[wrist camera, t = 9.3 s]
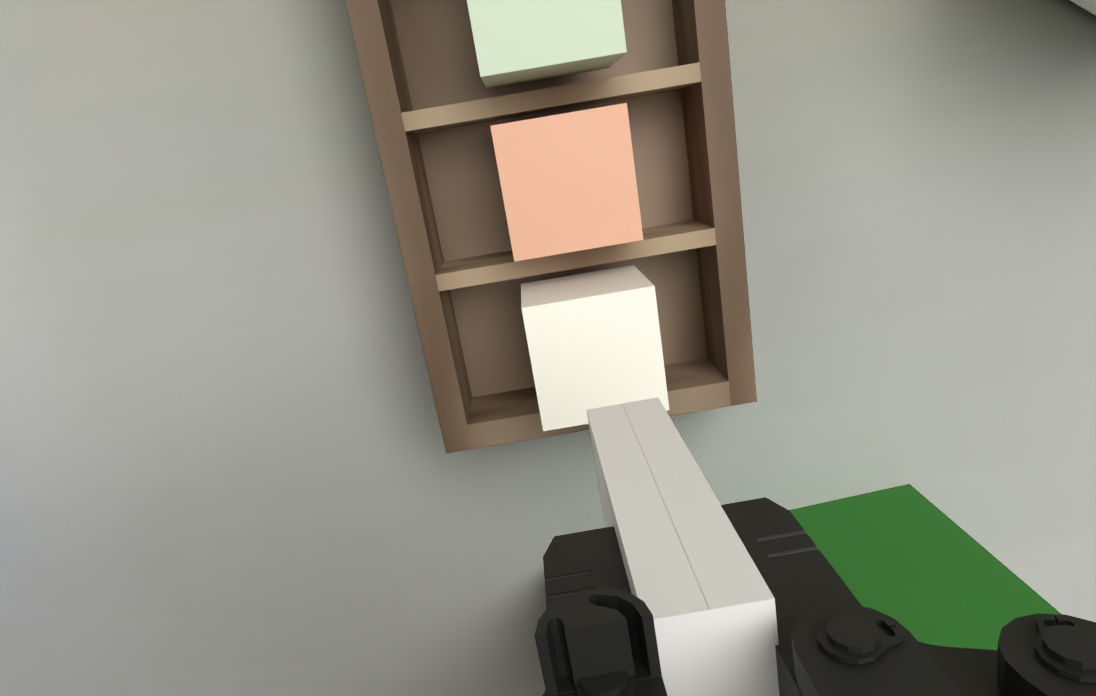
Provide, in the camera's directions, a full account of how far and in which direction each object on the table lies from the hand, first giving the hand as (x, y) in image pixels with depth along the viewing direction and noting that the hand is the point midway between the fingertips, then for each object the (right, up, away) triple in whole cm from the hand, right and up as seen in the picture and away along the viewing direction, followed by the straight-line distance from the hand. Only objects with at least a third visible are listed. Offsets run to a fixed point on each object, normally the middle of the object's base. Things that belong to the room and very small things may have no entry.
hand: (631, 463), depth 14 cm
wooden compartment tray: (-2, +12, +13) cm, 18 cm away
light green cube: (-2, +14, +8) cm, 16 cm away
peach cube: (-1, +9, +11) cm, 14 cm away
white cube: (0, +3, +11) cm, 12 cm away
